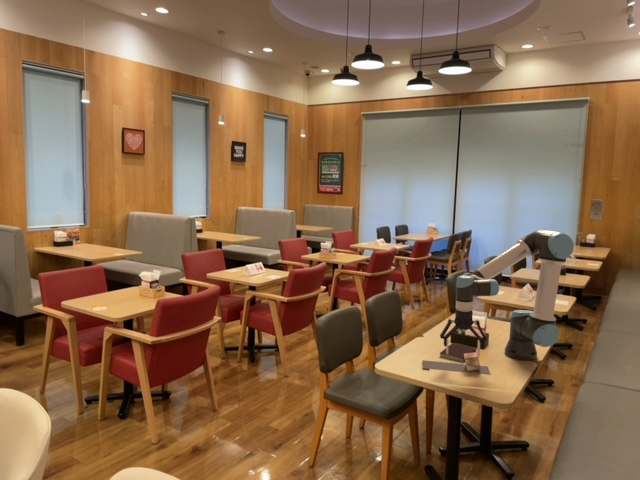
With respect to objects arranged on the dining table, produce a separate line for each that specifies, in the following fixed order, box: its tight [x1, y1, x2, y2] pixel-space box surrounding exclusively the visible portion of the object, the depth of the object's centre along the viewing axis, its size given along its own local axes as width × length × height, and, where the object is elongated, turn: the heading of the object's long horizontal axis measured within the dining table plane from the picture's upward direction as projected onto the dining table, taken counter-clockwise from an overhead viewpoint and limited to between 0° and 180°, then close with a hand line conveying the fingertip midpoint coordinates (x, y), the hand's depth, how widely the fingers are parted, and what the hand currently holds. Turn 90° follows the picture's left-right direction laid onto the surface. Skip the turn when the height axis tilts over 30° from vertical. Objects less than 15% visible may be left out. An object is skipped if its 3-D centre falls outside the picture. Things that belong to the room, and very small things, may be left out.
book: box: [439, 342, 477, 363], centre depth 240 cm, size 12×19×3 cm, turn 145°
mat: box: [422, 360, 492, 376], centre depth 222 cm, size 30×10×1 cm, turn 79°
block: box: [464, 351, 481, 371], centre depth 220 cm, size 6×6×6 cm
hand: (462, 354), depth 221 cm, fingers open, 13 cm apart
